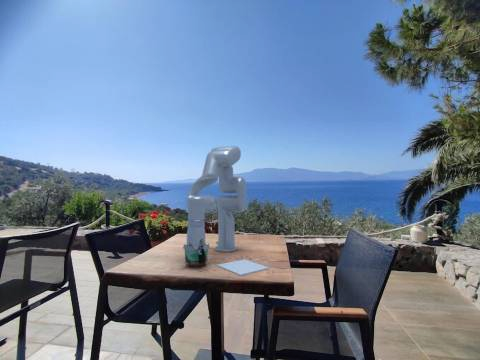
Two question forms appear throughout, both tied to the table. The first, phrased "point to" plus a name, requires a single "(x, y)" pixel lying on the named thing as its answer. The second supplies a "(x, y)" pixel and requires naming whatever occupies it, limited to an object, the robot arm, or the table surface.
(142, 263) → the table surface
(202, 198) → the robot arm
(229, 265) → the mat
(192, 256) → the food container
